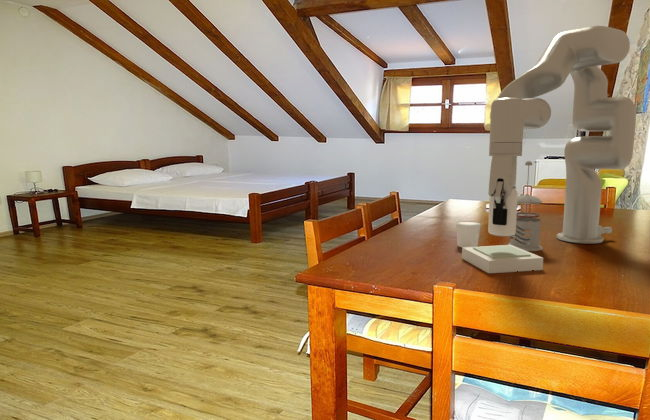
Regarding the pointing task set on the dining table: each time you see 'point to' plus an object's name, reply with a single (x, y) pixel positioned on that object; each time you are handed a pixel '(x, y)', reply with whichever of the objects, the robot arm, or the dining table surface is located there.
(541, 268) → the base
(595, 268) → the dining table surface
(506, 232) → the can
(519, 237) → the french press
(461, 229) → the white cup
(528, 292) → the dining table surface
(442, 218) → the dining table surface
